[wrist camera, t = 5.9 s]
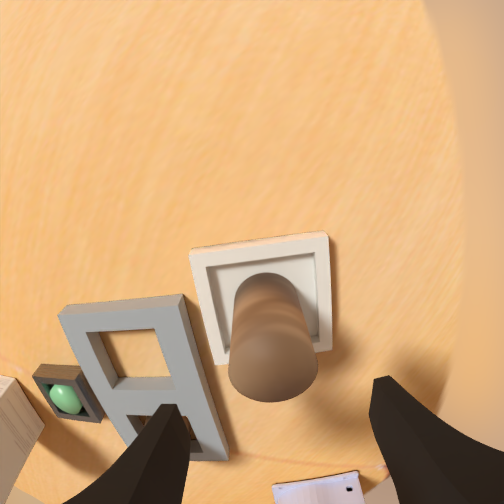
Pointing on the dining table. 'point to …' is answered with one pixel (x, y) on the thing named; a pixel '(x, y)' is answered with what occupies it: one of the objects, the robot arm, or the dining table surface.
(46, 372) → the switch box
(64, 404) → the button
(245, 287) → the cylinder
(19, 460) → the supplement box
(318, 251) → the white square tray
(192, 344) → the grey frame
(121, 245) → the dining table surface
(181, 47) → the dining table surface
